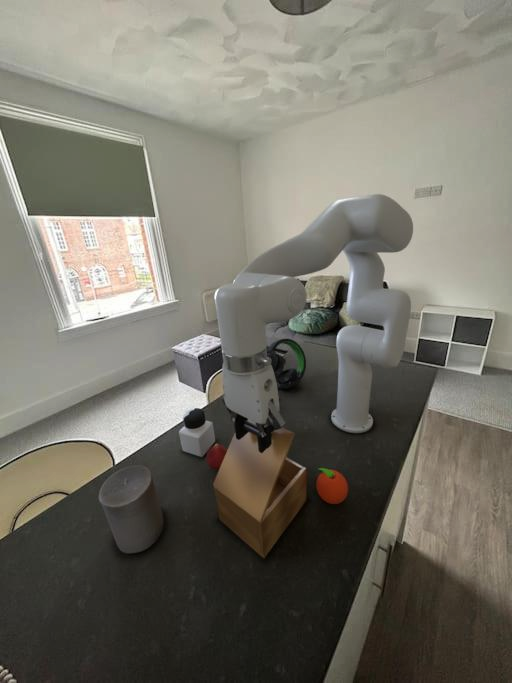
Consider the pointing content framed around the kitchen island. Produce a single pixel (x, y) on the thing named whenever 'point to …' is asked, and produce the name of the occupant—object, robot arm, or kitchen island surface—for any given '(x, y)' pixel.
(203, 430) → the medicine bottle
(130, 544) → the pillar candle
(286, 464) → the chest
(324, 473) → the clementine
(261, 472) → the lid
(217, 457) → the onion
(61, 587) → the kitchen island surface
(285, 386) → the headset
